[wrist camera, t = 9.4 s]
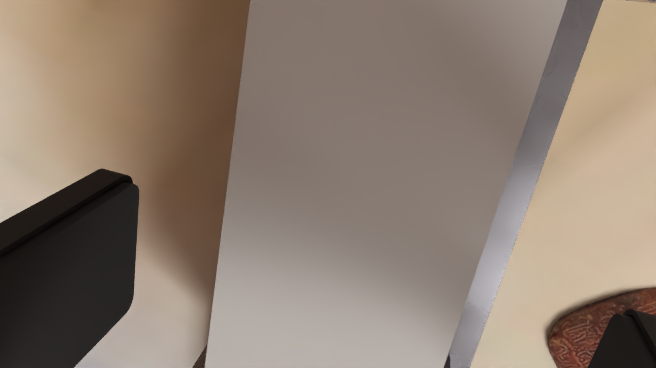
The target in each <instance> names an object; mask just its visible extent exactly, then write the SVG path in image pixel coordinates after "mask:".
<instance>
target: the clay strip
mask: <svg viewBox="0 0 656 368" xmlns="http://www.w3.org/2000/svg"><path fill="white" fill-rule="evenodd" d="M566 3H567V0H250V6H249V14H248V22H247V30H246V39H245V47H244V55H243V63H242V71H241V79H240V87H239V95H238V103H237V111H236V119H235V127H234V135H233V143H232V152H231V160H230V168H229V176H228V184H227V192H226V200H225V208H224V216H223V224H222V232H221V240H220V248H219V256H218V265H217V273H216V281H215V289H214V297H213V305H212V313H211V321H210V329H209V337H208V345H207V353H206V361H205V368H444V365H445V362H446V359H447V356H448V353H449V350H450V347H451V344H452V341H453V338H454V335H455V332H456V329H457V326H458V323H459V320H460V317H461V314H462V311H463V308H464V305H465V302H466V300H467V297H468V294H469V291H470V288H471V285H472V282H473V279H474V276H475V273H476V270H477V267H478V264H479V261H480V258H481V255H482V252H483V249H484V246H485V243H486V240H487V237H488V234H489V231H490V228H491V225H492V222H493V219H494V216H495V213H496V211H497V208H498V205H499V202H500V199H501V196H502V193H503V190H504V187H505V184H506V181H507V178H508V175H509V172H510V169H511V166H512V163H513V160H514V157H515V154H516V151H517V148H518V145H519V142H520V139H521V136H522V133H523V130H524V127H525V125H526V122H527V119H528V116H529V113H530V110H531V107H532V104H533V101H534V98H535V95H536V92H537V89H538V86H539V83H540V80H541V77H542V74H543V71H544V68H545V65H546V62H547V59H548V56H549V53H550V50H551V47H552V44H553V41H554V39H555V36H556V33H557V30H558V27H559V24H560V21H561V18H562V15H563V12H564V9H565V6H566Z"/></svg>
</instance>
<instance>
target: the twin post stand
mask: <svg viewBox="0 0 656 368" xmlns="http://www.w3.org/2000/svg"><path fill="white" fill-rule="evenodd" d="M627 1H638V2H648V3H656V0H627ZM602 2H603V0H567V3H566V6H565V9H564V12H563V15H562V18H561V21H560V24H559V27H558V30H557V33H556V36H555V39H554V41H553V44H552V47H551V50H550V53H549V56H548V59H547V62H546V65H545V68H544V71H543V74H542V77H541V80H540V83H539V86H538V89H537V92H536V95H535V98H534V101H533V104H532V107H531V110H530V113H529V116H528V119H527V122H526V125H525V127H524V130H523V133H522V136H521V139H520V142H519V145H518V148H517V151H516V154H515V157H514V160H513V163H512V166H511V169H510V172H509V175H508V178H507V181H506V184H505V187H504V190H503V193H502V196H501V199H500V202H499V205H498V208H497V211H496V213H495V216H494V219H493V222H492V225H491V228H490V231H489V234H488V237H487V240H486V243H485V246H484V249H483V252H482V255H481V258H480V261H479V264H478V267H477V270H476V273H475V276H474V279H473V282H472V285H471V288H470V291H469V294H468V297H467V300H466V302H465V305H464V308H463V311H462V314H461V317H460V320H459V323H458V326H457V329H456V332H455V335H454V338H453V341H452V344H451V347H450V350H449V353H448V356H447V359H446V362H445V365H444V368H470V365H471V362H472V360H473V357H474V354H475V351H476V349H477V346H478V343H479V340H480V338H481V335H482V332H483V329H484V327H485V324H486V321H487V318H488V316H489V313H490V310H491V307H492V305H493V302H494V299H495V296H496V294H497V291H498V288H499V285H500V283H501V280H502V277H503V274H504V271H505V269H506V266H507V263H508V260H509V258H510V255H511V252H512V249H513V247H514V244H515V241H516V238H517V236H518V233H519V230H520V227H521V225H522V222H523V219H524V216H525V214H526V211H527V208H528V205H529V203H530V200H531V197H532V194H533V192H534V189H535V186H536V183H537V181H538V178H539V175H540V172H541V170H542V167H543V164H544V161H545V159H546V156H547V153H548V150H549V148H550V145H551V142H552V139H553V137H554V134H555V131H556V128H557V126H558V123H559V120H560V117H561V115H562V112H563V109H564V106H565V104H566V101H567V98H568V95H569V93H570V90H571V87H572V84H573V82H574V79H575V76H576V73H577V71H578V68H579V65H580V62H581V59H582V57H583V54H584V51H585V48H586V46H587V43H588V40H589V37H590V35H591V32H592V29H593V26H594V24H595V21H596V18H597V15H598V13H599V10H600V7H601V4H602ZM207 345H208V344H207ZM206 353H207V346H206V347H205V349H204V351H203V352H202V354H201V355H200V357H199V358H198V360H197V361H196V363H195V365H194V366H193V368H205V361H206Z"/></svg>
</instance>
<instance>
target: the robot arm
mask: <svg viewBox="0 0 656 368" xmlns="http://www.w3.org/2000/svg"><path fill="white" fill-rule="evenodd" d="M138 205H139V189H138V186H137V185H135V184H133V181H132V178H131V177H130V176H128V175H124V174H121V173H117V172H113V171H109V170H105V169H99V170H97V171H95V172H93V173H91V174H90V175H88V176H86V177H84V178H82V179H80V180H78V181H77V182H75V183H73V184H71V185H69V186H67V187H66V188H64V189H62V190H60V191H58V192H56V193H55V194H53V195H51V196H49V197H47V198H45V199H43V200H42V201H40V202H38V203H36V204H34V205H32V206H31V207H29V208H27V209H25V210H23V211H21V212H20V213H18V214H16V215H14V216H12V217H10V218H8V219H7V220H5V221H3V222H1V223H0V368H74V367H75V366H76V365H77V364H78V363H79V362H80V361H81V359H82V358H83V357H84V356H85V355H86V354H87V353H88V352H89V351H90V350H91V349H92V348H93V347H94V346H95V345H96V344H97V343H98V342H99V341H100V340H101V339H102V338H103V337H104V336H105V335H106V334H107V333H108V331H109V330H110V329H111V328H112V327H113V326H114V325H115V324H116V323H117V322H118V321H119V320H120V319H121V318H122V317H123V316H124V315H125V314H126V313H127V311H128V310H129V308H130V306H131V303H132V300H133V295H134V278H135V260H136V242H137V223H138ZM587 368H656V315H652V314H648V313H644V312H641V311H637V310H633V309H628V310H626V311H625V312H624V313H623V314H622V315H621V314H618V313H617V314H614V315H613V316H612V318H611V319H610V321H609V323H608V325H607V327H606V329H605V331H604V334H603V336H602V338H601V340H600V342H599V344H598V346H597V348H596V351H595V353H594V355H593V357H592V359H591V361H590V363H589V365H588V367H587Z"/></svg>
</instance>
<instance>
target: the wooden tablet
mask: <svg viewBox="0 0 656 368" xmlns="http://www.w3.org/2000/svg"><path fill="white" fill-rule="evenodd" d="M628 309H633V310H637V311H641V312H644V313H648V314H652V315H656V288H652V289H641V290H636V291H631V292H627V293H623V294H619V295H617V296H614V297H610V298H607V299H604V300H602V301H598V302H595V303H593V304H591V305H586V306H584V307H583V308H580V309H578V310H576V311H574V312H572V313H570V314H568V315H566V316H564V317H562V318H561V319H560V320H559V321H558V322H557V324H556V325H555V326H554V328H553V330H552V332H551V334H550V337H549V347H550V354H551V355H552V357H553V359H554V361H555V363H556V365H557V367H558V368H587V367H588V365H589V363H590V361H591V359H592V357H593V355H594V353H595V351H596V348H597V346H598V344H599V342H600V340H601V338H602V336H603V334H604V331H605V329H606V327H607V325H608V323H609V321H610V319H611V318H612V316H613V315H614V314H617V313H618V314H621V315H622V314H623V313H624V312H625V311H626V310H628Z"/></svg>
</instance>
